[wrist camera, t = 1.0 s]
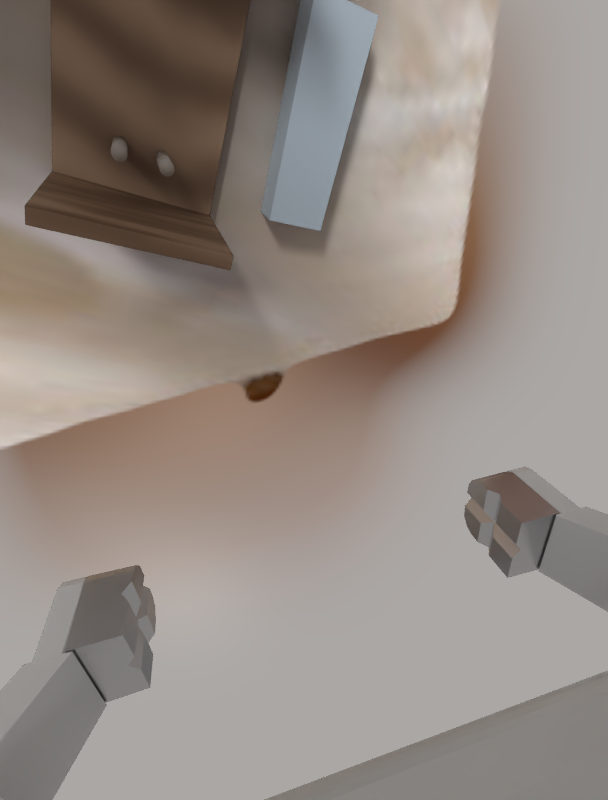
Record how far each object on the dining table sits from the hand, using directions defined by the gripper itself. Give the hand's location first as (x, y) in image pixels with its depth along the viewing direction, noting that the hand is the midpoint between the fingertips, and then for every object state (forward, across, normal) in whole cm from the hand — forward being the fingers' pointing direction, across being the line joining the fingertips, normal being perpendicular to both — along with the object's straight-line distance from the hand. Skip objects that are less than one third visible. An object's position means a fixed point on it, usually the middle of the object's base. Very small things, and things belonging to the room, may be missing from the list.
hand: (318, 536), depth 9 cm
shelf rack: (+38, +3, -18) cm, 42 cm away
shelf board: (+41, -11, -13) cm, 44 cm away
